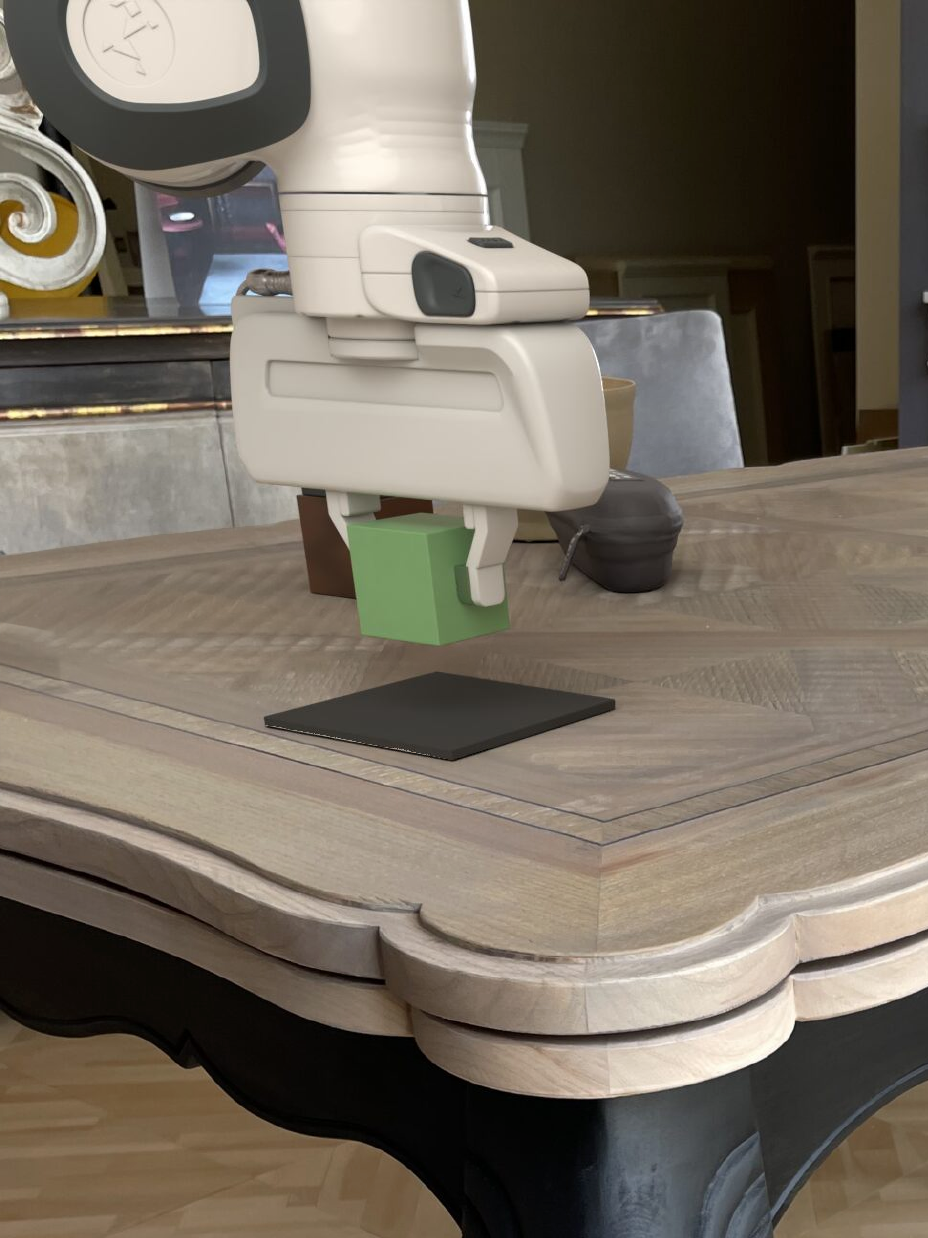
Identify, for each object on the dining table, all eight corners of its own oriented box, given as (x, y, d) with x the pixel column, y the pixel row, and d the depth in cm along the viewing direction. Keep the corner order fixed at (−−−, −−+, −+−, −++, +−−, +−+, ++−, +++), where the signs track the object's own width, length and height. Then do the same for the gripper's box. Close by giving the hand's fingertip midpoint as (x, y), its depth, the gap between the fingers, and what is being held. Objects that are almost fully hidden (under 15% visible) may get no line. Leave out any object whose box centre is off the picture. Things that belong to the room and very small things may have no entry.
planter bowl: (418, 525, 145) (401, 376, 139) (614, 515, 150) (604, 372, 145) (457, 555, 132) (439, 393, 127) (669, 543, 138) (660, 387, 132)
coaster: (264, 726, 87) (262, 716, 87) (437, 680, 96) (436, 670, 96) (452, 761, 82) (451, 750, 82) (616, 708, 91) (615, 698, 91)
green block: (361, 635, 86) (345, 524, 84) (434, 618, 90) (421, 512, 87) (439, 646, 84) (425, 533, 82) (510, 629, 88) (499, 520, 85)
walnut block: (310, 592, 118) (295, 495, 115) (376, 579, 123) (363, 485, 120) (377, 601, 116) (364, 502, 113) (442, 588, 120) (431, 491, 117)
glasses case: (733, 575, 120) (688, 460, 115) (593, 644, 118) (542, 530, 114) (655, 534, 134) (612, 429, 129) (529, 595, 132) (481, 491, 128)
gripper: (173, 268, 81) (227, 587, 88) (521, 277, 73) (552, 630, 79) (279, 266, 86) (323, 568, 93) (618, 274, 77) (640, 608, 84)
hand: (432, 597), depth 86 cm, fingers closed on green block, 5 cm apart
